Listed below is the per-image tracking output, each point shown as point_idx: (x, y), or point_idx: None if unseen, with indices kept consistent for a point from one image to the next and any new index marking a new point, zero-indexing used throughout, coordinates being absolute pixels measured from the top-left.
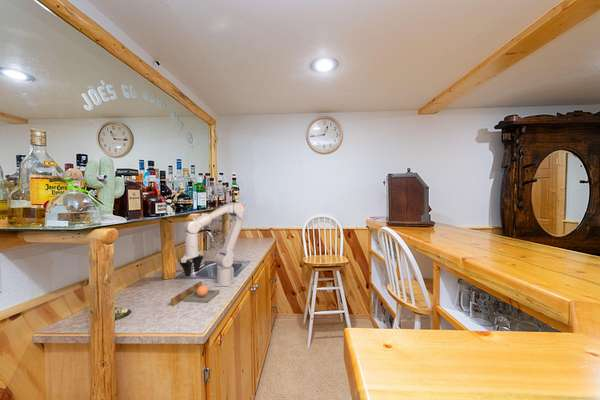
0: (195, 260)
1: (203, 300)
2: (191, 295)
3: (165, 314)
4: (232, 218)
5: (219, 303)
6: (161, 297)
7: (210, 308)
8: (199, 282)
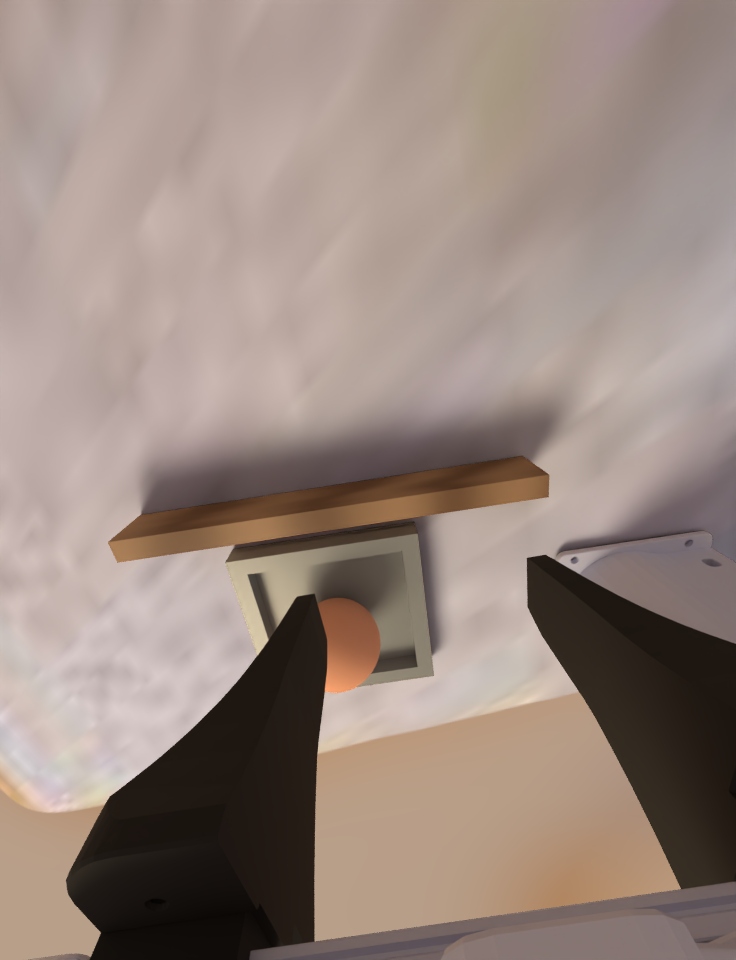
0: (662, 737)
1: None
2: (297, 565)
3: (40, 575)
4: None
5: None
6: (218, 279)
7: None
8: (516, 495)
